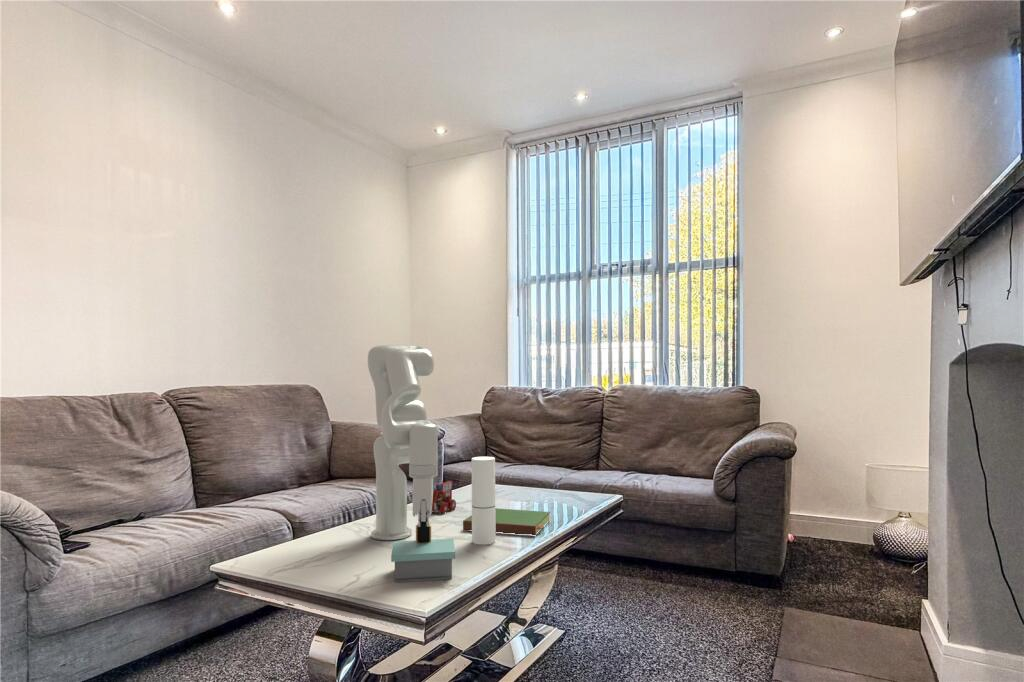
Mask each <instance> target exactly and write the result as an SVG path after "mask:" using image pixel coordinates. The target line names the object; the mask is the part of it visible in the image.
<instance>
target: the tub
mask: <svg viewBox="0 0 1024 682" xmlns="http://www.w3.org/2000/svg"><path fill="white" fill-rule="evenodd" d="M452 560H453V559H435V560H417V561H399V562H394V583H404V582H406V583H407V582H417V581H421V582H423V581H434V580H436V579H440V580H451V579H450V578H452V579H453V564H452V563H453V561H452Z"/></svg>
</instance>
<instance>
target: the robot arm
mask: <svg viewBox="0 0 1024 682" xmlns="http://www.w3.org/2000/svg"><path fill="white" fill-rule="evenodd" d="M367 367H368V372H369V374H370V377H371V381H372V383H373V386H374V392H375V393H374V394H375V395H374V396H375V412H376V413H375V415H376V422H377V426H378V427H379V428H380V429H381V430H382V435H380V436H378V437H377V438H376V439H375V440H374V443H373V448H372V449H373V450H372V451H373V456H374V463H375V464H374V465H375V487H376V489H375V490H376V491H375V493H376V494H375V495H376V497H375V501H376V502H375V509H376V510H375V512H376V513H375V516H376V517H375V520H376V521H375V523H376V524H375V529H373V530H371V533H370V537H371V538H372V539H375V540H378V541H379V540H380V541H396V540H397V541H398V540H403V539H406V538H408V537H410V536H411V535H412V534H413V533H412V532H413V530H412V528H410V527H408V479H407V476H406V474H405V472H404V471H403V470H402V469H401V468H400V465H403V464H409V465H408V467H409V469H408V473H409V474H408V476H409V477H410V478H412V516H413V517H416V516H417V517H418V519H417V520H418V523H417V524H416V525H418V527H417V542H419V543H420V542H429V541H430V526H429V525H431V523H430V516H431V515H432V513H433V512H432V503H433V492H434V478H435V477H437V476H439V475H438V474H439V473H438V472H439V470H438V468H439V463H438V459H439V458H438V455H439V453H438V451H439V450H438V447H439V442H438V441H439V439H438V437H439V434H438V433H439V431H438V429H439V428H438V426H437V425H436V424H435V423H433V422H431V421H430V420H428V416H427V415H428V413H427V409H426V406H425V404H424V403H423V402H422V401H421V400H418V397H420V395H421V392H422V389H421V385H420V381H419V377H428V376H430V375H431V374H432V373H433V371H434V370H435V362H434V357H433V355H432V353H431V351H430V350H429V349H427V348H425V347H423V346H419V345H406V344H405V345H402V344H401V345H399V344H398V345H397V344H383V345H376V346H373V347H371V348H370V350H369V351H368V353H367Z"/></svg>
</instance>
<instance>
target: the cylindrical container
mask: <svg viewBox="0 0 1024 682" xmlns="http://www.w3.org/2000/svg"><path fill="white" fill-rule="evenodd" d="M495 508H496V458H495V457H494V456H475V457H472V458H471V515H472V532H471V543H472V542H473V543H476V544H490V543H493V542H495V541H496V538H497V537H496V527H495ZM473 543H472V544H473ZM495 543H496V542H495ZM476 544H475V545H476ZM493 544H494V543H493ZM490 545H491V544H490Z"/></svg>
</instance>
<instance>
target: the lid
mask: <svg viewBox="0 0 1024 682" xmlns="http://www.w3.org/2000/svg"><path fill="white" fill-rule="evenodd" d="M429 526H430V541H429V542H420V543H419V542H417V527H418V525H417V524H416V525H415V540H400V541H399V540H397V541H396V540H393V544H392V549H391V554H390V557H391V558H390V560H391V563H395V562H399V561H417V560H435V559H452V560H453V559H456V548H455V542H454V538H437V539H432V524H430V525H429Z"/></svg>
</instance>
